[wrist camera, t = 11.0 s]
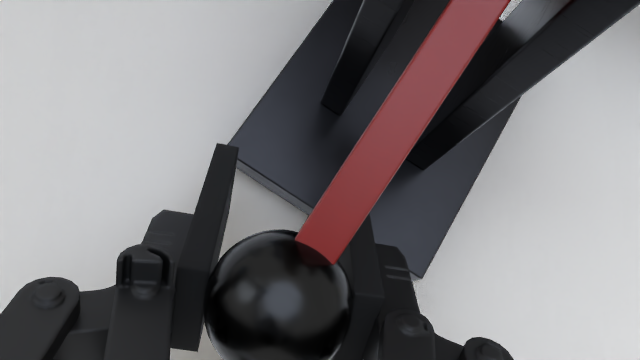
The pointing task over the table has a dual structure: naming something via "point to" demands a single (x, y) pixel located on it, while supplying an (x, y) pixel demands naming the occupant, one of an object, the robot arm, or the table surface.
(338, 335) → the clamp lever
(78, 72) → the table surface
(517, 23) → the toggle clamp
